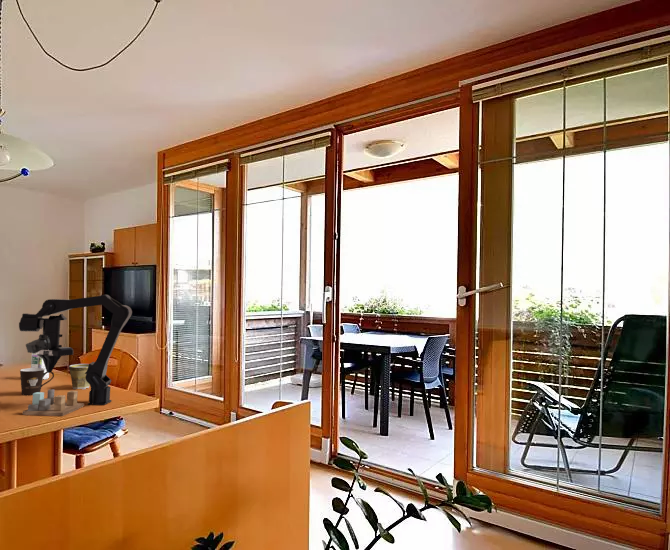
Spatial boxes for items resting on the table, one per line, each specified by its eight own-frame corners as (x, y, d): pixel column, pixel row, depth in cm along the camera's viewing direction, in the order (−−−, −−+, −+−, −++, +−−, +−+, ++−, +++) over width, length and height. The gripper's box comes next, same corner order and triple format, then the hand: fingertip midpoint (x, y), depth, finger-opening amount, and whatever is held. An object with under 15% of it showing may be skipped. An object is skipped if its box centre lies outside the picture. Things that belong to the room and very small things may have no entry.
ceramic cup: (93, 389, 208) (94, 366, 208) (67, 391, 203) (69, 367, 204) (93, 384, 219) (94, 362, 220) (68, 385, 215) (69, 363, 215)
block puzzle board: (83, 406, 178) (84, 389, 178) (62, 416, 164) (63, 397, 164) (47, 405, 178) (48, 387, 178) (22, 414, 164) (23, 395, 165)
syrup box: (29, 379, 224) (31, 349, 225) (40, 377, 230) (42, 347, 230) (38, 380, 223) (40, 349, 223) (49, 378, 228) (51, 348, 229)
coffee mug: (15, 396, 191) (16, 371, 191) (23, 391, 199) (24, 368, 199) (47, 395, 194) (48, 371, 194) (53, 391, 202) (55, 367, 202)
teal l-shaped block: (43, 404, 173) (44, 389, 173) (50, 404, 173) (51, 389, 173) (31, 409, 166) (32, 393, 166) (39, 409, 166) (40, 393, 166)
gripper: (14, 331, 178) (12, 373, 177) (47, 334, 170) (44, 378, 169) (43, 329, 188) (41, 369, 187) (75, 332, 180) (73, 374, 179)
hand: (49, 372), depth 180 cm, fingers closed
